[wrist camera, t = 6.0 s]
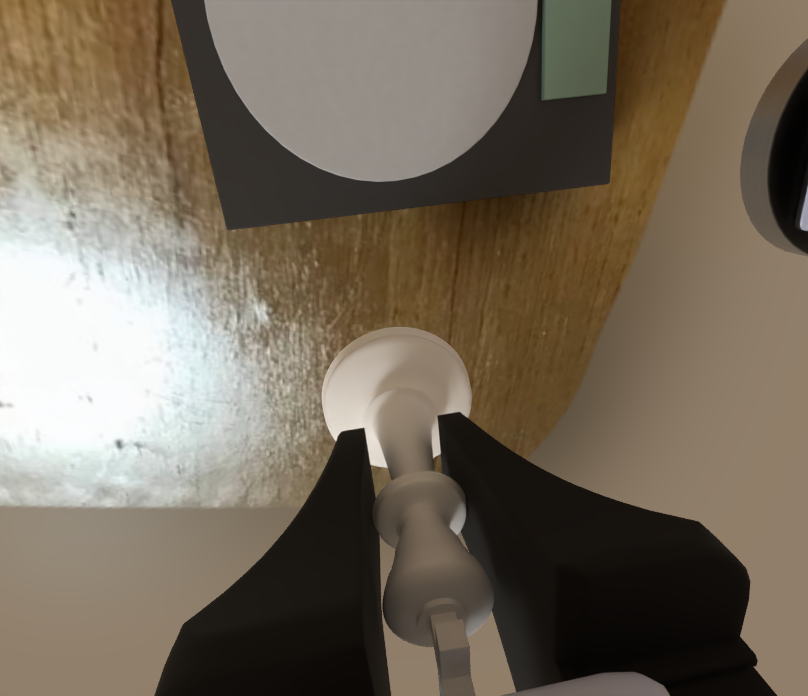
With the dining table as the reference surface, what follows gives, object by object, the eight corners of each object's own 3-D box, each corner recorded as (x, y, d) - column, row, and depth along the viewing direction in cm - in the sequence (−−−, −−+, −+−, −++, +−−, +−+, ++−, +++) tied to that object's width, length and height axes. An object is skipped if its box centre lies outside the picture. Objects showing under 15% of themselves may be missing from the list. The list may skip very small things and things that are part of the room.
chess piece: (332, 466, 16) (313, 860, 7) (311, 335, 15) (248, 640, 5) (471, 448, 17) (621, 800, 8) (467, 317, 15) (660, 575, 6)
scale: (592, -212, 15) (650, -295, 12) (578, 180, 20) (617, 184, 17) (145, -190, 14) (98, -275, 11) (240, 221, 19) (223, 232, 16)
